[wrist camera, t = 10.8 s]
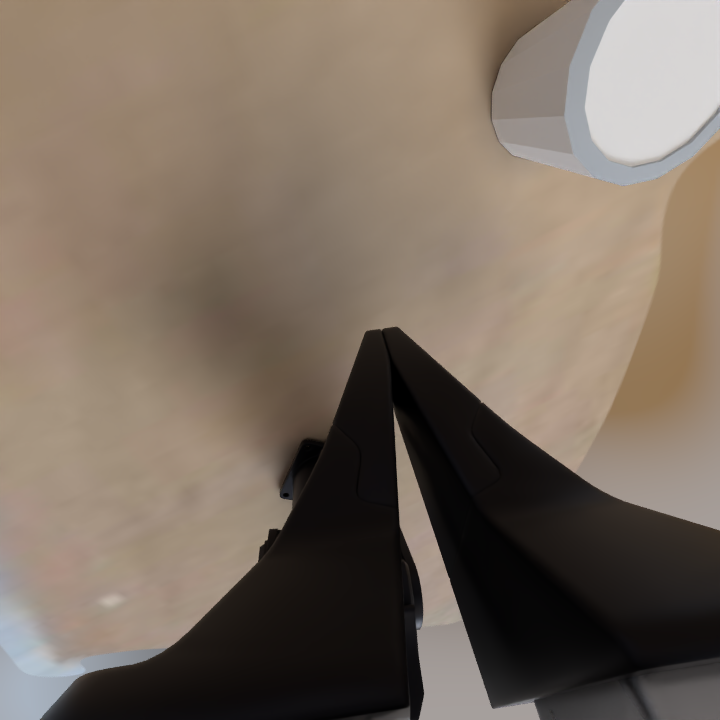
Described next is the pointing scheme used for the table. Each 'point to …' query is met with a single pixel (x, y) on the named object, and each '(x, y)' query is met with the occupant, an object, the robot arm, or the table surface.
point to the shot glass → (613, 88)
